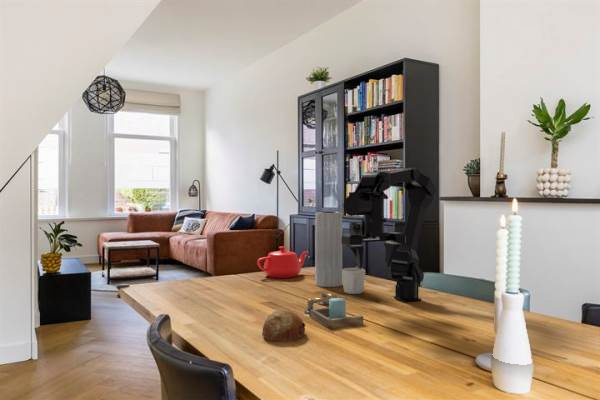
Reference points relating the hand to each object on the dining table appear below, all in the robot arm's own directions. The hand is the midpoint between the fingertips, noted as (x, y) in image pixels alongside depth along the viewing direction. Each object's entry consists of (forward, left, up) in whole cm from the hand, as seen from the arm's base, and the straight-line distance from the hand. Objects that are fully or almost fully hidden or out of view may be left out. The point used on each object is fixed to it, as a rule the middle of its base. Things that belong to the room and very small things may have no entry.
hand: (373, 267), depth 134 cm
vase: (-3, -37, -12) cm, 39 cm away
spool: (+15, +7, -12) cm, 21 cm away
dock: (+16, +7, -12) cm, 21 cm away
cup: (-4, -20, -12) cm, 24 cm away
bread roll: (+33, +14, -12) cm, 38 cm away
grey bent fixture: (+15, -7, -12) cm, 20 cm away
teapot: (+6, -61, -12) cm, 63 cm away
